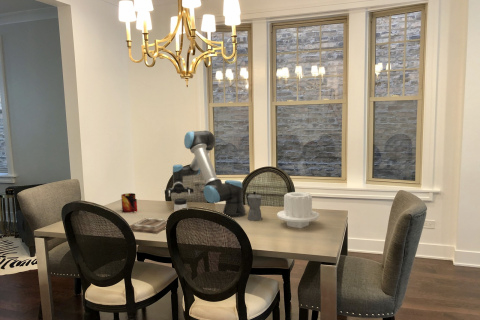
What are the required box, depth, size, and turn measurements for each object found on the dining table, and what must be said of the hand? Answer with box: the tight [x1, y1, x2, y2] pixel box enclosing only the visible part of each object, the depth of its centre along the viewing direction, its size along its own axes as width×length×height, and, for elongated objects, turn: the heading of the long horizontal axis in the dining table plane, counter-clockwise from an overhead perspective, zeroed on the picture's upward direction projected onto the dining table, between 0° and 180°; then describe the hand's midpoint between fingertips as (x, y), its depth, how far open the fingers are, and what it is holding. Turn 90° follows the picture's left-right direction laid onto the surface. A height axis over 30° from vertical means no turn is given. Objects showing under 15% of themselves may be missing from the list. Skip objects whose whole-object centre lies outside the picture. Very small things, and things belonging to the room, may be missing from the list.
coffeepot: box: [246, 191, 263, 222], centre depth 245 cm, size 15×9×18 cm, turn 33°
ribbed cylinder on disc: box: [276, 191, 320, 229], centre depth 228 cm, size 25×25×19 cm
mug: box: [120, 192, 138, 214], centre depth 272 cm, size 10×14×12 cm
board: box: [129, 217, 168, 234], centre depth 233 cm, size 22×22×3 cm
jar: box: [173, 198, 188, 212], centre depth 253 cm, size 9×8×12 cm
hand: (179, 193), depth 262 cm, fingers open, 13 cm apart
